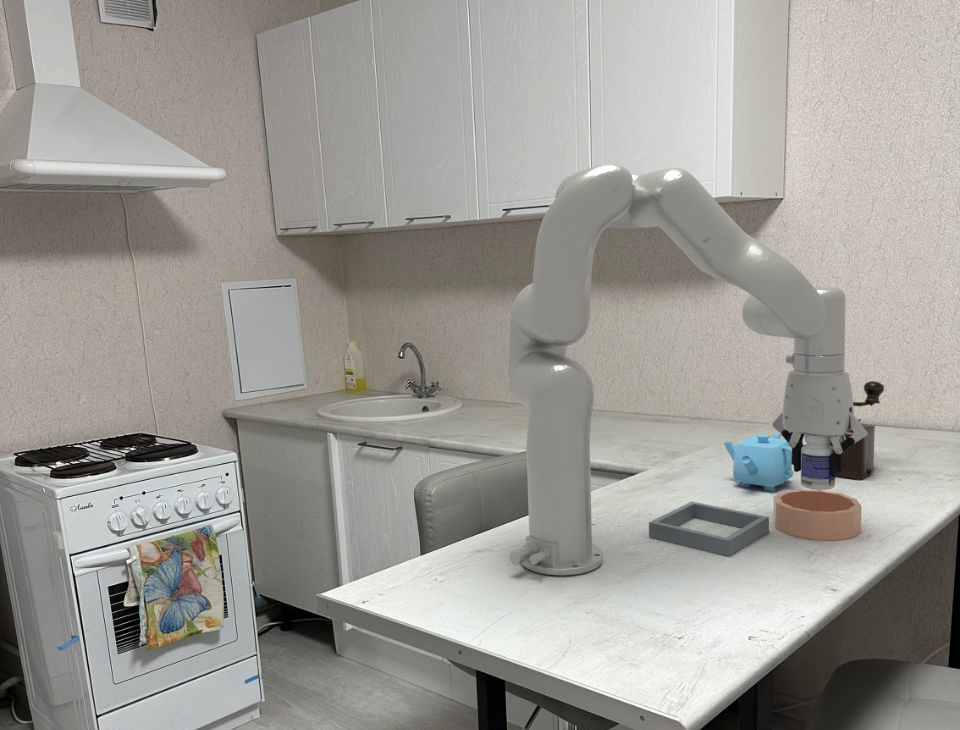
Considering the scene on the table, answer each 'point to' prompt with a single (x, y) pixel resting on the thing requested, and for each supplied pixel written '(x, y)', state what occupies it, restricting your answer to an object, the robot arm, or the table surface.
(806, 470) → the pill bottle
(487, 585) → the table surface
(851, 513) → the bowl
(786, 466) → the teapot
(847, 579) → the table surface
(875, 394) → the coffee grinder
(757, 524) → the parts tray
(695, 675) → the table surface
